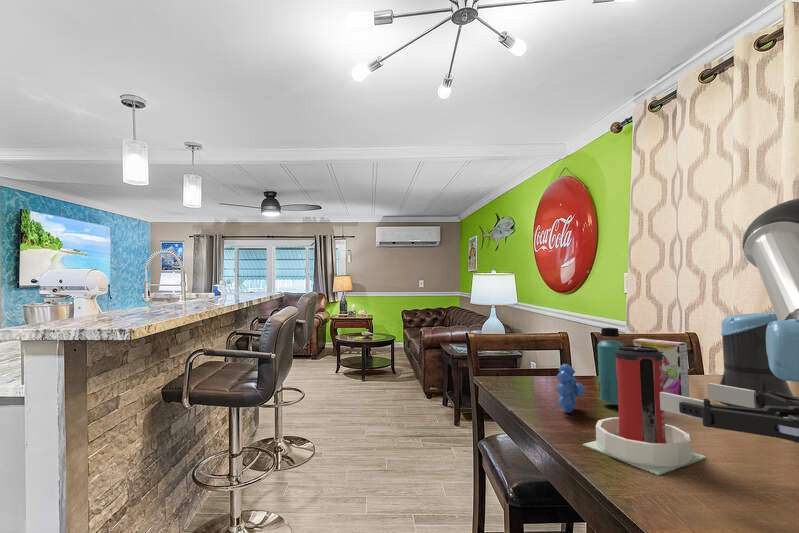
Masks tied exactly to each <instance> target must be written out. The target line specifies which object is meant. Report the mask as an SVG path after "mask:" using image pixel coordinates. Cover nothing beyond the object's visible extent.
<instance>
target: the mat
mask: <svg viewBox="0 0 799 533" xmlns="http://www.w3.org/2000/svg"><path fill="white" fill-rule="evenodd" d="M582 446H583V447H586V448H587V449H590V450H593V451H596V452H598V453H601V454H602V455H606V456H608V457H611V458H613V459H615V460H618V461H621V462H623V463H626V464H628V465H631V466H634V467H635V468H639V469H641V470H643V471H646V472H648V471H649V473H651V474H653V473H654V474H653V475H656V476H662V475H665V474H666V472H667V473H670V472H672V471H675V470H678V469H681V468H683V467H686V466H689V465H691V464H696V463H697V462H701V461H703V460H705V459H707V456H705V455H703V454H700V453H696V452H692V451H691V456H692V459H691V462H690V463H689V464H687V465H685V466H681V468H680V467H672V468H664V467H652V466H645V465H639V464H635V463H631V462H627V461H624V460H621V459H618V458H615V457H613V456H611V455H609V454H607V453H605V452H604V451H602V450H601V449H600V448H599V447H598V444H597V442H596V440H594V441H590V442H585V443H582ZM677 468H678V469H677ZM669 471H670V472H669Z"/></svg>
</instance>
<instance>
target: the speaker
mask: <svg viewBox="0 0 799 533" xmlns="http://www.w3.org/2000/svg"><path fill="white" fill-rule="evenodd" d="M633 347H634V348H633ZM614 353H615V357H616V369H617V384H618V404H617V406H618V417H619V436H620V437H623V438H626V439H629V440H635V441H641V442H647V443H667V442H666V436H665V424H666V420H665V418H666V417H665V411H664V410H661V409H660V392H663V376H662V360H663V354H662V353H661V352H660V351H658V350H657V349H656V348H653V347H646V346H633V345H624V346H620V347H619V348H618V349H616V350H615V351H614Z"/></svg>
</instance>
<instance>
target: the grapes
mask: <svg viewBox="0 0 799 533" xmlns="http://www.w3.org/2000/svg"><path fill="white" fill-rule="evenodd" d="M557 370H558V371H559V372H558V373H557V375H556V376H555V377H556V378H557V379H558V381H559V383H558V385H556V391H557V393H558V395H560V397H559V399H558V400H557V402H558V403H559V405H560V407H561V409H562V410H563V412H565V413H566V414H568V413H569V414H570V413H572V412H573V411H574V410H575V408H576V407H575V406H577V404H578V403H577V401H576V399H577V397H578V396H579V397H580V396H583V395H584V393H586V391H587V389H586V387H585V386H584V385H583V384H582V383H580V382H578V380H577V378H576V377H575V376H574V375H575V373H576V371H575V369H574V368H573V367H572V366H571V365H570V364H567V363H563V364H561V365H560V367H559V368H558V369H557Z"/></svg>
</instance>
